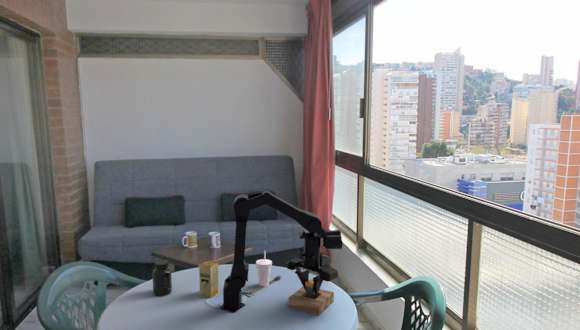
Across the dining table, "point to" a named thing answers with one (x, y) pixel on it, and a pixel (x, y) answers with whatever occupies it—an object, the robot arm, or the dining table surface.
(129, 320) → the dining table surface
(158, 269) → the supplement bottle
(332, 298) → the block
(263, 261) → the smoothie
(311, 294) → the orange and grey peg
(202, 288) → the shoe polish box
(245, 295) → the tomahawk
